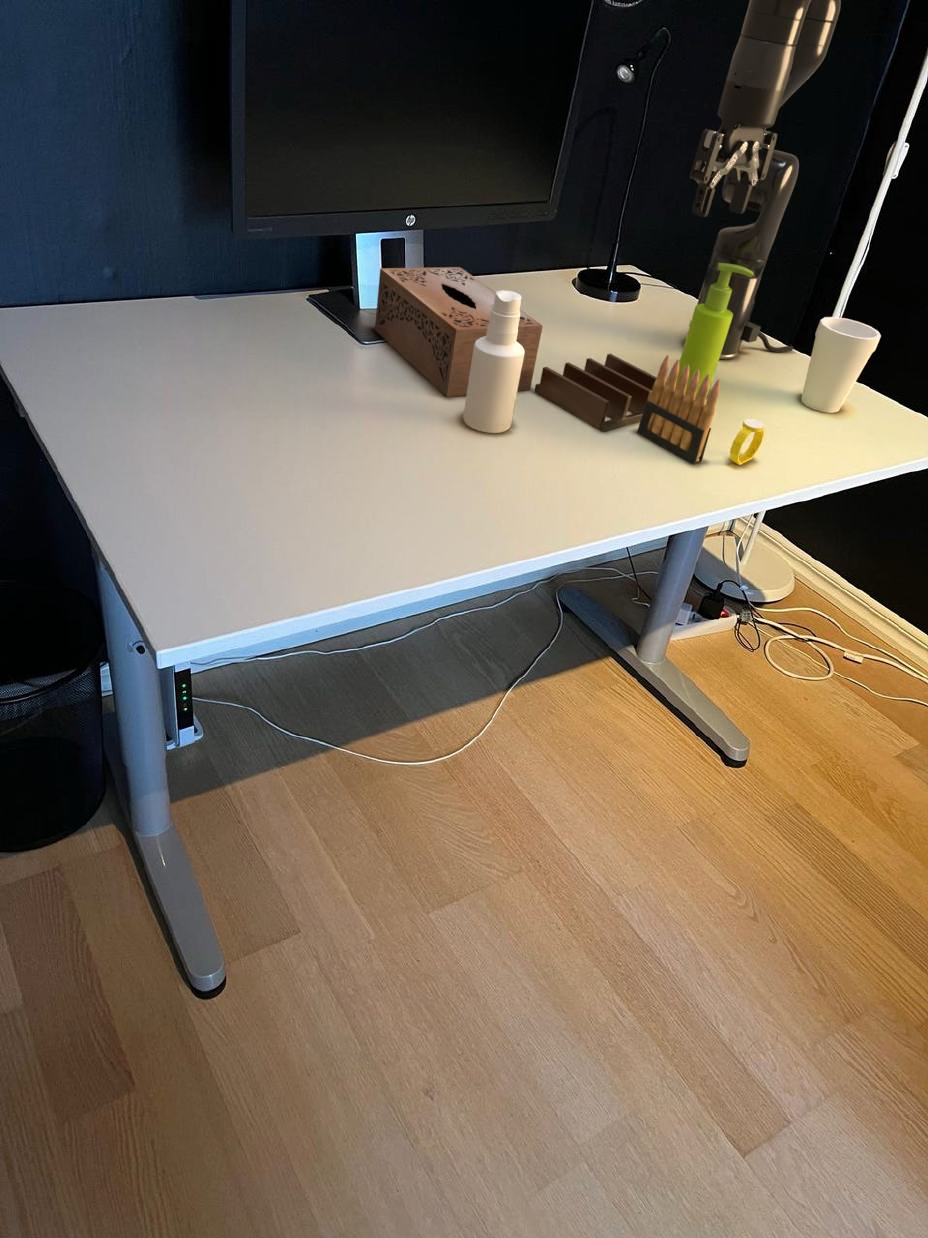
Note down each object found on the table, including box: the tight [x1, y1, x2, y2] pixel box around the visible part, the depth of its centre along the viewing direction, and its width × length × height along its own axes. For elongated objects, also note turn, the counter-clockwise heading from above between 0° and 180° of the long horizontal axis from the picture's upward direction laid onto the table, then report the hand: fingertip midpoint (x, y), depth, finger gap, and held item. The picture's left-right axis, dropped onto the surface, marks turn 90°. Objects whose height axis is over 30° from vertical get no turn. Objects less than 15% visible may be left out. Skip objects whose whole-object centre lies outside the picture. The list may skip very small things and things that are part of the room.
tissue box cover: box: [374, 266, 544, 398], centre depth 144 cm, size 26×14×10 cm, turn 28°
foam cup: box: [800, 316, 882, 414], centre depth 151 cm, size 10×9×13 cm
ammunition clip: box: [636, 354, 721, 465], centre depth 129 cm, size 11×2×12 cm, turn 40°
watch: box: [729, 418, 765, 466], centre depth 131 cm, size 6×3×6 cm, turn 133°
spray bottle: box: [462, 289, 525, 434], centre depth 125 cm, size 7×7×18 cm
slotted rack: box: [533, 353, 666, 432], centre depth 141 cm, size 15×15×4 cm
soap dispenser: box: [675, 263, 754, 398], centre depth 146 cm, size 6×7×20 cm
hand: (717, 213), depth 129 cm, fingers open, 8 cm apart
